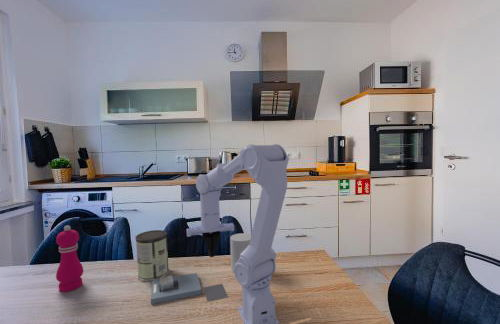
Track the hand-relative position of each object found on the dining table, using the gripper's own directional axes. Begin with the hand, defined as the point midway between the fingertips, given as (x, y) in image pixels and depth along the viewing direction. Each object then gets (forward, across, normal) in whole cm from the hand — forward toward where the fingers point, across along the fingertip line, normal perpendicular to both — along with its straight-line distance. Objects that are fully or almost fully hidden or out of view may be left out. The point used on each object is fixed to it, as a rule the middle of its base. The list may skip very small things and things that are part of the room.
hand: (211, 255), depth 80 cm
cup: (+10, -12, -7) cm, 17 cm away
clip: (+8, +12, -2) cm, 15 cm away
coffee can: (+10, +18, -16) cm, 26 cm away
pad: (+10, 0, +4) cm, 11 cm away
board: (+10, +11, -2) cm, 15 cm away
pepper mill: (+10, +43, -17) cm, 47 cm away
